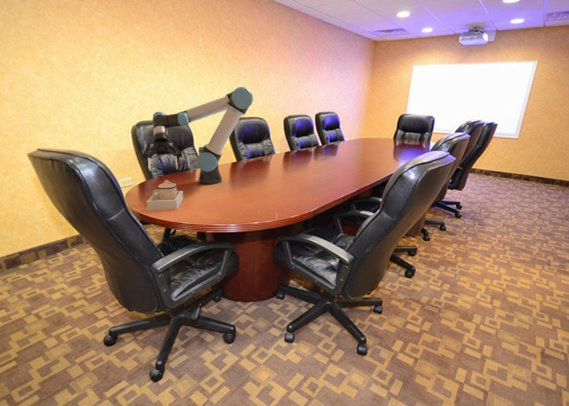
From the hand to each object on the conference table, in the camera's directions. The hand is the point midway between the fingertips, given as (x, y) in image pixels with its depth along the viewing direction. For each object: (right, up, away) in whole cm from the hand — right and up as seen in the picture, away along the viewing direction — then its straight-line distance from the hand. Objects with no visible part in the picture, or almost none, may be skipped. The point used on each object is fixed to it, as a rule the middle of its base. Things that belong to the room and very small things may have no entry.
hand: (163, 168), depth 164 cm
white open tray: (+3, -19, -3) cm, 19 cm away
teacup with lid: (+3, -18, -3) cm, 19 cm away
